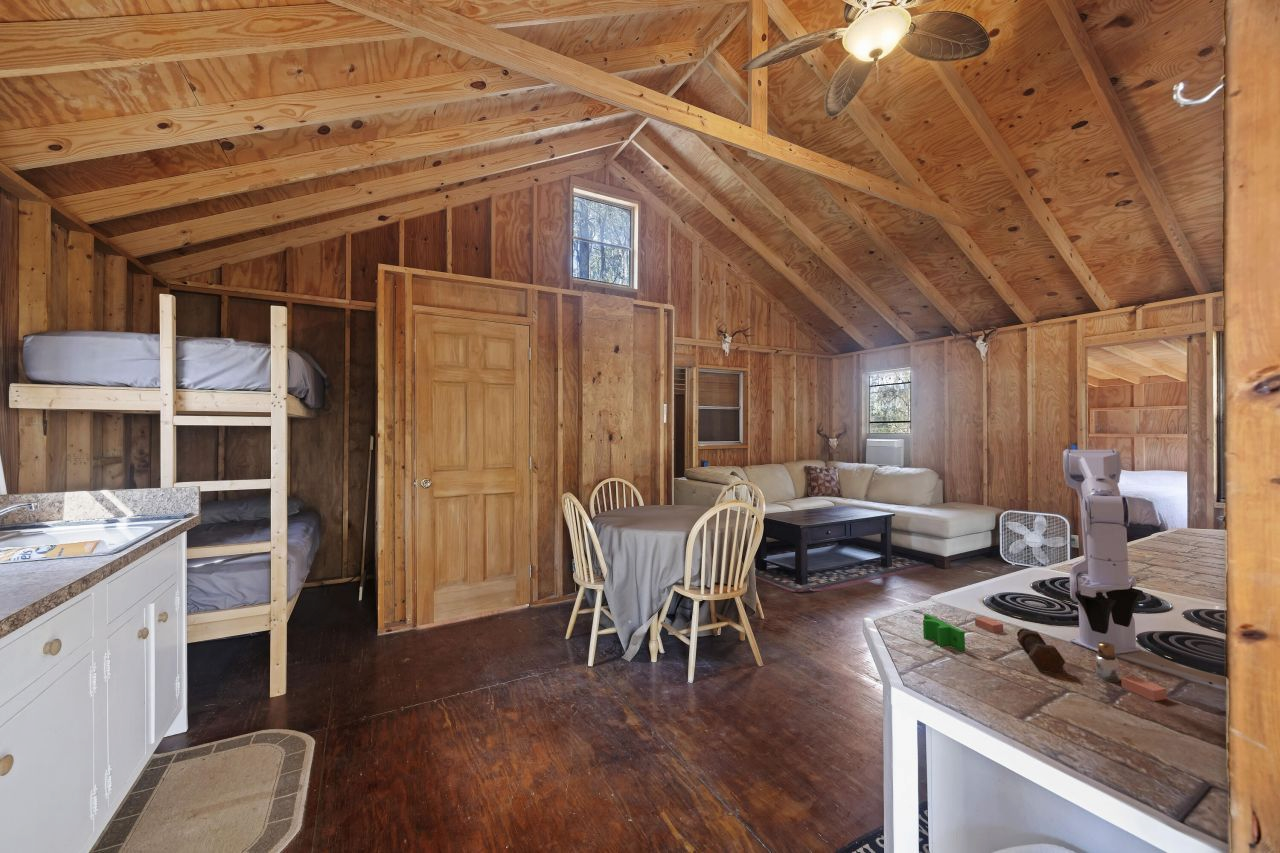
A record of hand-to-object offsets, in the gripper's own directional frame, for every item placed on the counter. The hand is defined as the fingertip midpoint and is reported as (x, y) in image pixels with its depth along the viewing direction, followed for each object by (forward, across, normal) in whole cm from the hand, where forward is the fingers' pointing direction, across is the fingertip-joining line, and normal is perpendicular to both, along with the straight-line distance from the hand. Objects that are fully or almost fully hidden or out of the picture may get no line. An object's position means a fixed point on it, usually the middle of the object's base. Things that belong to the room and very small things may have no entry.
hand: (1110, 628), depth 97 cm
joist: (+10, -5, -26) cm, 29 cm away
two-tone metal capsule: (+10, 0, -1) cm, 10 cm away
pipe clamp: (+10, +13, -26) cm, 31 cm away
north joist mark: (+10, +1, +5) cm, 11 cm away
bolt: (+10, +1, -12) cm, 16 cm away
